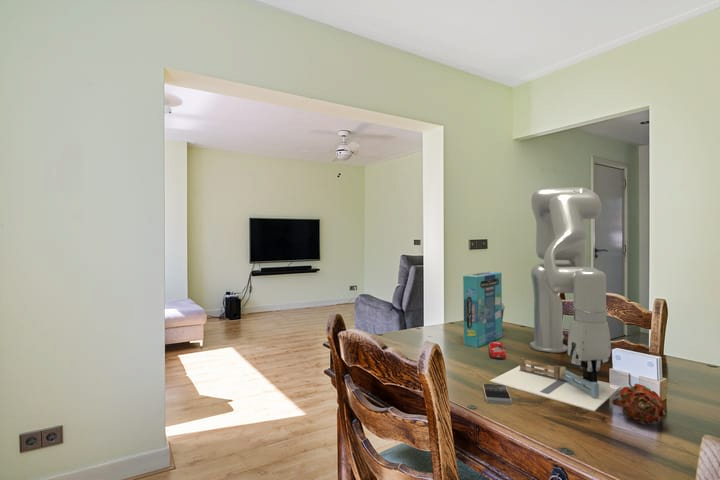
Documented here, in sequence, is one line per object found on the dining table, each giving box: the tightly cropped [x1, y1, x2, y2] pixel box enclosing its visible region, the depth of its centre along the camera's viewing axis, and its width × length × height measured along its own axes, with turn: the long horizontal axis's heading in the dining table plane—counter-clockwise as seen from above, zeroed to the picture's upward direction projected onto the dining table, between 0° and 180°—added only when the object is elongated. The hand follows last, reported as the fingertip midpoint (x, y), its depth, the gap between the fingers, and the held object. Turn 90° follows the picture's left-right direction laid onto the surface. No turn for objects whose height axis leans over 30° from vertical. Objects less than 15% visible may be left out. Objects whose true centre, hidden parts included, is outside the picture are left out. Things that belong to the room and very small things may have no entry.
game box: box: [462, 271, 503, 349], centre depth 155 cm, size 20×6×27 cm, turn 135°
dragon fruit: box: [611, 383, 667, 426], centre depth 88 cm, size 8×8×12 cm
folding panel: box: [560, 365, 599, 397], centre depth 105 cm, size 14×1×3 cm, turn 9°
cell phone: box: [482, 383, 513, 406], centre depth 102 cm, size 6×11×1 cm, turn 167°
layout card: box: [489, 364, 618, 413], centre depth 109 cm, size 22×27×1 cm
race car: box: [488, 341, 507, 360], centre depth 138 cm, size 13×5×4 cm, turn 164°
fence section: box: [519, 357, 561, 380], centre depth 116 cm, size 11×1×4 cm, turn 42°
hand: (590, 384), depth 104 cm, fingers closed
